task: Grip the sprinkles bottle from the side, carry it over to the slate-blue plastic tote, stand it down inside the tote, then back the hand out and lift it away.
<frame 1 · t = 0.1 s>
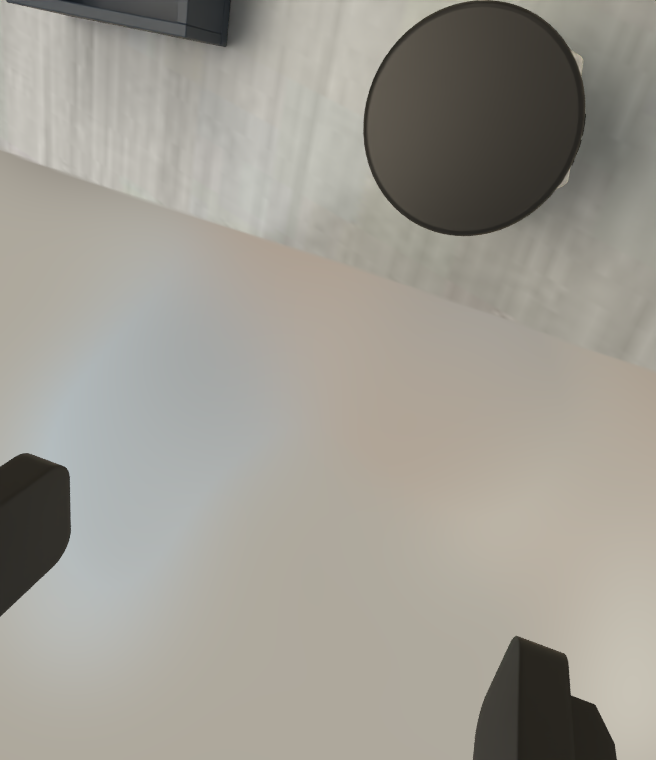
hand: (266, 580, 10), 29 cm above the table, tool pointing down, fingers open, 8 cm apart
jar: (487, 123, 33), on the table
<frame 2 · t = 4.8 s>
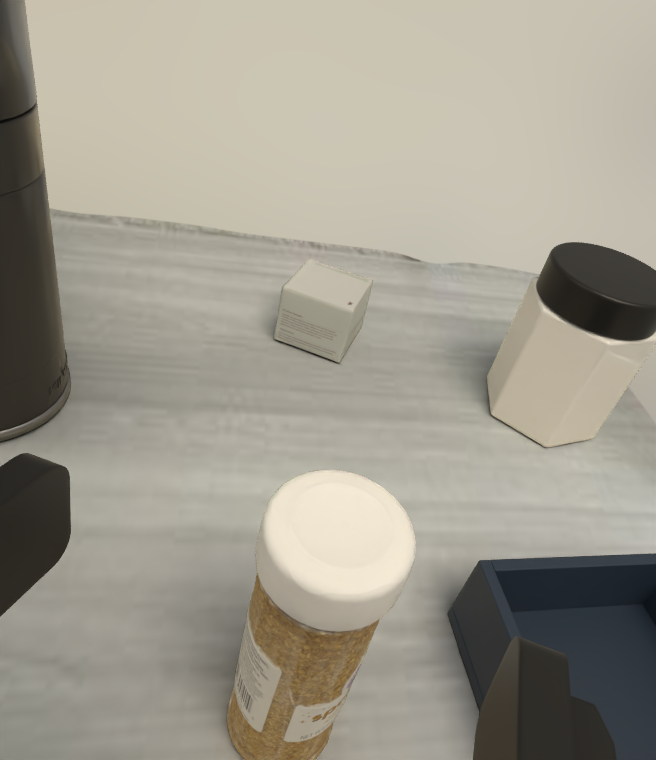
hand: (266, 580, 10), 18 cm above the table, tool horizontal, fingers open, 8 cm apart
tote: (598, 718, 28), on the table
small box: (317, 336, 48), on the table
jar: (536, 410, 46), on the table
sprinkles bottle: (278, 717, 25), on the table
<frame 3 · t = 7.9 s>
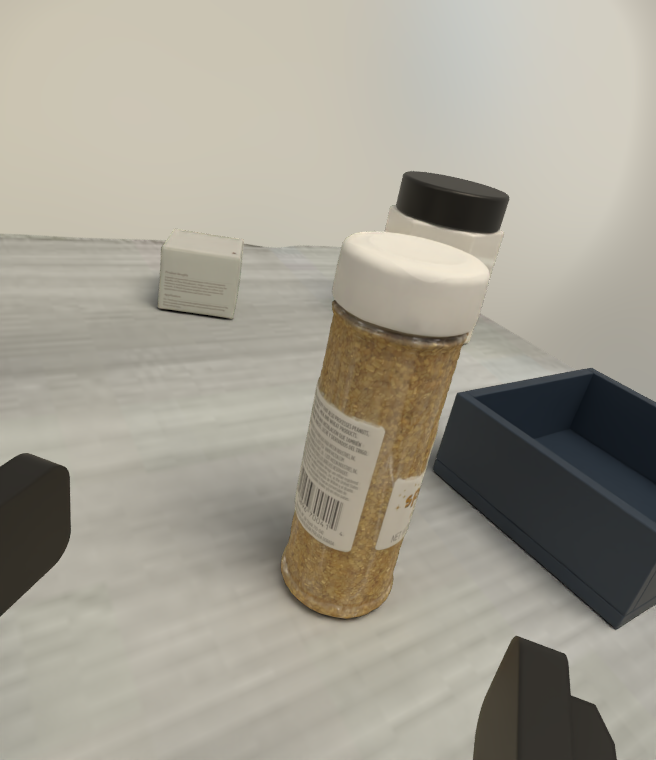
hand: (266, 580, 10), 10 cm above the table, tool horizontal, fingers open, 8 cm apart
tote: (583, 509, 31), on the table
small box: (199, 304, 47), on the table
jar: (415, 331, 50), on the table
sprinkles bottle: (333, 579, 24), on the table
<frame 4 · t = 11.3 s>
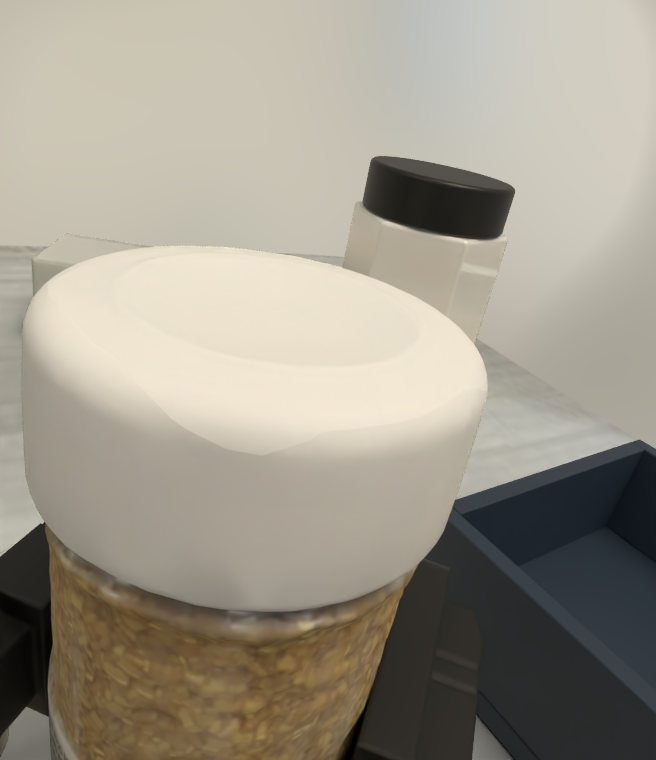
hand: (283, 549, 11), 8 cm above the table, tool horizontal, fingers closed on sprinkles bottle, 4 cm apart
tote: (640, 685, 19), on the table
small box: (101, 334, 35), on the table
jar: (392, 367, 38), on the table
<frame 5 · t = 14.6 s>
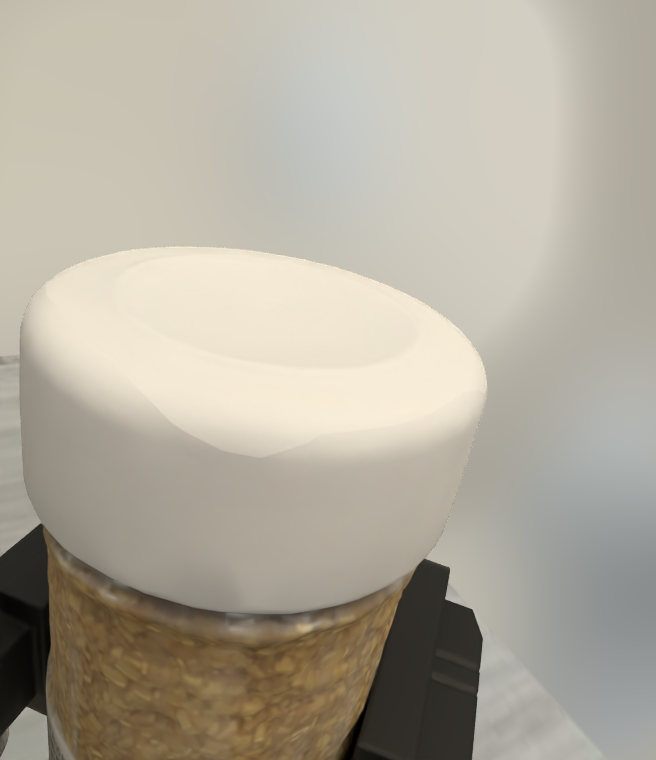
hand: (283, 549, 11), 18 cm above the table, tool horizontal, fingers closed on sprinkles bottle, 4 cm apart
when the fingers open (9 cm above the table, at t = 18.1 s): sprinkles bottle stays where it is, resting on tote.
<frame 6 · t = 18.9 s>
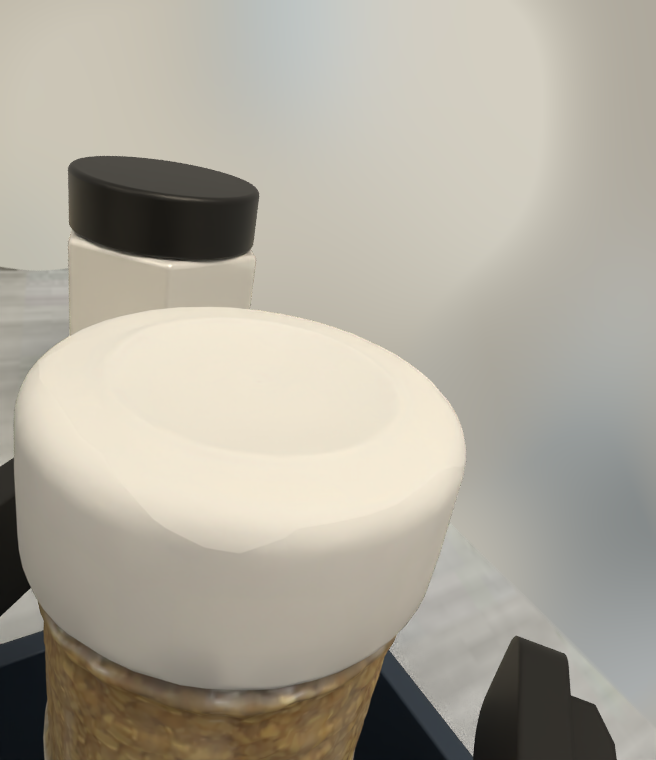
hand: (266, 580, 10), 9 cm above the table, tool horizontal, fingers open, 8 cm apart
jar: (154, 411, 32), on the table
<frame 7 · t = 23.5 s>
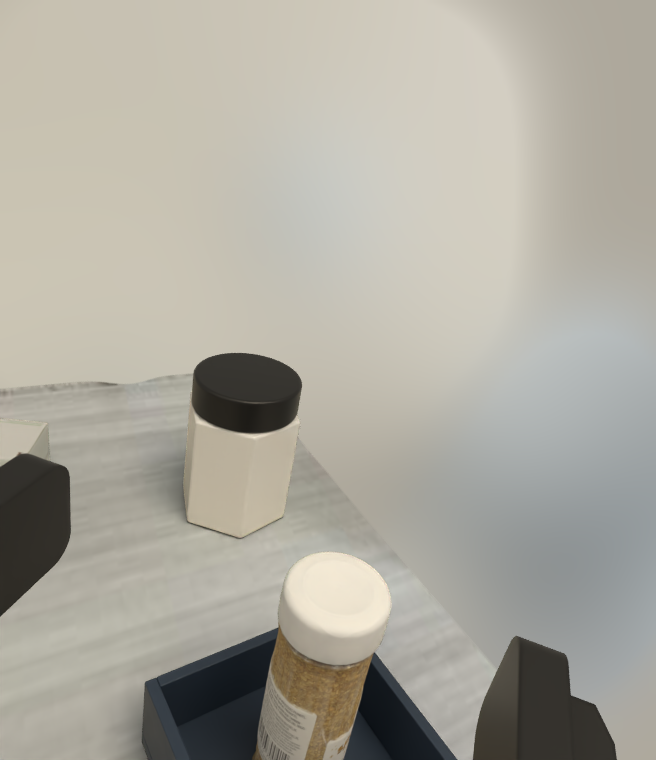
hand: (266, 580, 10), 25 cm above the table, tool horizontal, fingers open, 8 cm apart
small box: (1, 490, 46), on the table
jar: (232, 504, 50), on the table
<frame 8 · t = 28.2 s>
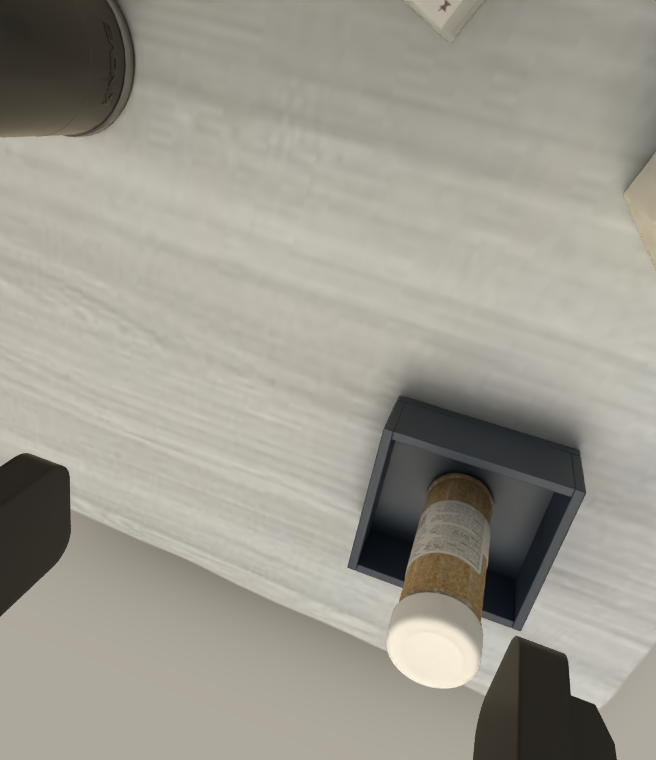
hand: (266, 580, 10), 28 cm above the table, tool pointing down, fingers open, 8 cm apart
tote: (462, 490, 41), on the table
sprinkles bottle: (460, 496, 40), point 1 cm above the table, touching tote
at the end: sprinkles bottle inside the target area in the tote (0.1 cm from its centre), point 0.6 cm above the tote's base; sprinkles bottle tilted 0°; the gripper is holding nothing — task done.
